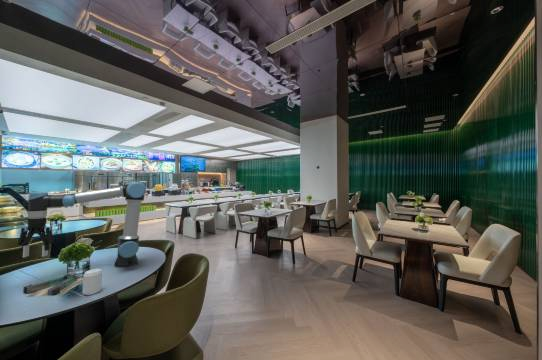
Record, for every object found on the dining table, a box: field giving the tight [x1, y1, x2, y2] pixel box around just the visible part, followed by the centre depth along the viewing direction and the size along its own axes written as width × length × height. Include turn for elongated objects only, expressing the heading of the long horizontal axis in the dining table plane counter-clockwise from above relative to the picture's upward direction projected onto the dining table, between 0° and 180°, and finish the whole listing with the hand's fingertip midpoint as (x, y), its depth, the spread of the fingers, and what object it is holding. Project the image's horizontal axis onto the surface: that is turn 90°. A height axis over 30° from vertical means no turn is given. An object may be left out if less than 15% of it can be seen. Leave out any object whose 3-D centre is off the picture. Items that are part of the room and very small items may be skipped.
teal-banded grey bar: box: [46, 275, 78, 297], centre depth 120 cm, size 7×20×3 cm, turn 10°
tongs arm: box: [22, 272, 77, 294], centre depth 121 cm, size 6×21×4 cm, turn 155°
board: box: [25, 277, 83, 298], centre depth 120 cm, size 17×21×1 cm
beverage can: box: [82, 268, 103, 296], centre depth 116 cm, size 8×8×12 cm
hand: (35, 256), depth 120 cm, fingers open, 9 cm apart
